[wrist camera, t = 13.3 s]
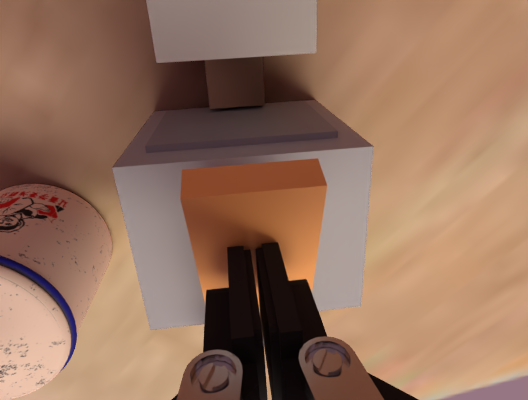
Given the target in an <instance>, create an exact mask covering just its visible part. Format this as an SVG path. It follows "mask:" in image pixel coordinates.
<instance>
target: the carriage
mask: <svg viewBox="0 0 528 400" xmlns="http://www.w3.org/2000/svg"><path fill="white" fill-rule="evenodd" d="M146 2H147V8H148V14H149V20H150V26H151V33H152V39H153V45H154V51H155V57H156V63H165V62H181V61H197V60H213V59H229V58H245V57H261V56H277V55H293V54H309V53H316V34H317V0H146Z"/></svg>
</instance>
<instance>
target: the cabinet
mask: <svg viewBox="0 0 528 400" xmlns="http://www.w3.org/2000/svg"><path fill="white" fill-rule="evenodd" d="M316 158H318V160H319V163H320V166H321V168H322V171H323V174H324V177H325V180H326V183H327V192H326V199H325V206H324V213H323V220H322V227H321V234H320V241H319V247H318V254H317V261H316V268H315V275H314V282H313V289H312V295H313V298H314V300H315V303H316V306H317V309H318V311H324V310H333V309H342V308H351V307H360V306H361V302H362V289H363V276H364V263H365V250H366V237H367V224H368V211H369V198H370V185H371V172H372V159H373V146H372V145H371V144H370V143H369V142H367V141H366V140H365V139H364V138H362V137H361V136H360V135H359V134H357V133H356V132H355V131H354V130H352V129H351V128H350V127H349V126H347V125H346V124H345V123H344V122H342V121H341V120H340V119H339V118H337V117H336V116H335V115H334V114H332V113H331V112H330V111H329V110H328V109H326V108H325V107H324V106H323V105H321V104H320V103H319V102H318V101H316V100H304V101H290V102H276V103H265V105H258V106H244V107H230V108H216V109H210V107H206V108H192V109H178V110H165V111H154V112H153V114H152V115H151V116H150V118H149V119H148V120H147V122H146V123H145V124H144V126H143V127H142V128H141V130H140V131H139V132H138V134H137V135H136V136H135V138H134V139H133V140H132V142H131V143H130V144H129V146H128V147H127V148H126V150H125V151H124V152H123V154H122V155H121V156H120V158H119V159H118V160H117V162H116V163H115V164H114V166H113V167H112V170H113V174H114V178H115V182H116V187H117V191H118V195H119V199H120V204H121V208H122V212H123V216H124V221H125V225H126V229H127V233H128V237H129V242H130V246H131V250H132V254H133V259H134V263H135V267H136V271H137V275H138V280H139V284H140V288H141V292H142V297H143V301H144V305H145V309H146V313H147V318H148V322H149V326H150V330H157V329H165V328H174V327H183V326H192V325H201V324H205V301H204V297H203V293H202V288H201V284H200V280H199V276H198V271H197V267H196V263H195V259H194V254H193V250H192V246H191V242H190V238H189V233H188V229H187V225H186V221H185V216H184V212H183V208H182V204H181V199H180V195H181V178H182V170H184V169H196V168H208V167H220V166H232V165H244V164H256V163H268V162H280V161H292V160H304V159H316Z"/></svg>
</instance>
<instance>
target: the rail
mask: <svg viewBox="0 0 528 400" xmlns="http://www.w3.org/2000/svg"><path fill="white" fill-rule="evenodd" d="M204 62H205V71H206V80H207V89H208V98H209V107H210V109H216V108H230V107H244V106H258V105H265V97H264V76H263V56H261V57H245V58H229V59H213V60H204Z"/></svg>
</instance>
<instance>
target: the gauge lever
mask: <svg viewBox="0 0 528 400" xmlns="http://www.w3.org/2000/svg"><path fill="white" fill-rule="evenodd" d="M326 192H327V183H326V180H325V177H324V174H323V171H322V168H321V166H320V163H319V160H318V158H316V159H304V160H292V161H280V162H268V163H256V164H244V165H232V166H220V167H208V168H196V169H184V170H182V178H181V195H180V199H181V204H182V208H183V212H184V216H185V221H186V225H187V229H188V233H189V238H190V242H191V246H192V250H193V254H194V259H195V263H196V267H197V271H198V276H199V280H200V284H201V288H202V293H203V297H204V301H205V303H206V290H210V289H219V288H228V287H229V282H228V258H227V247H234V246H244V250H248V249H250V250H251V257H252V264H253V270H254V277H255V284H256V291H257V298H258V305H259V293H258V278H257V264H256V249H258V248H261V244H264V243H273V242H278V244H279V247H280V251H281V254H282V258H283V262H284V265H285V269H286V272H287V276H288V279H289V281H291V280H300V279H307V281H308V283H309V286H310V289H311V292H312V289H313V282H314V275H315V268H316V261H317V254H318V247H319V241H320V234H321V227H322V220H323V213H324V206H325V199H326ZM259 312H260V307H259ZM263 344H264V340H263Z"/></svg>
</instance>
